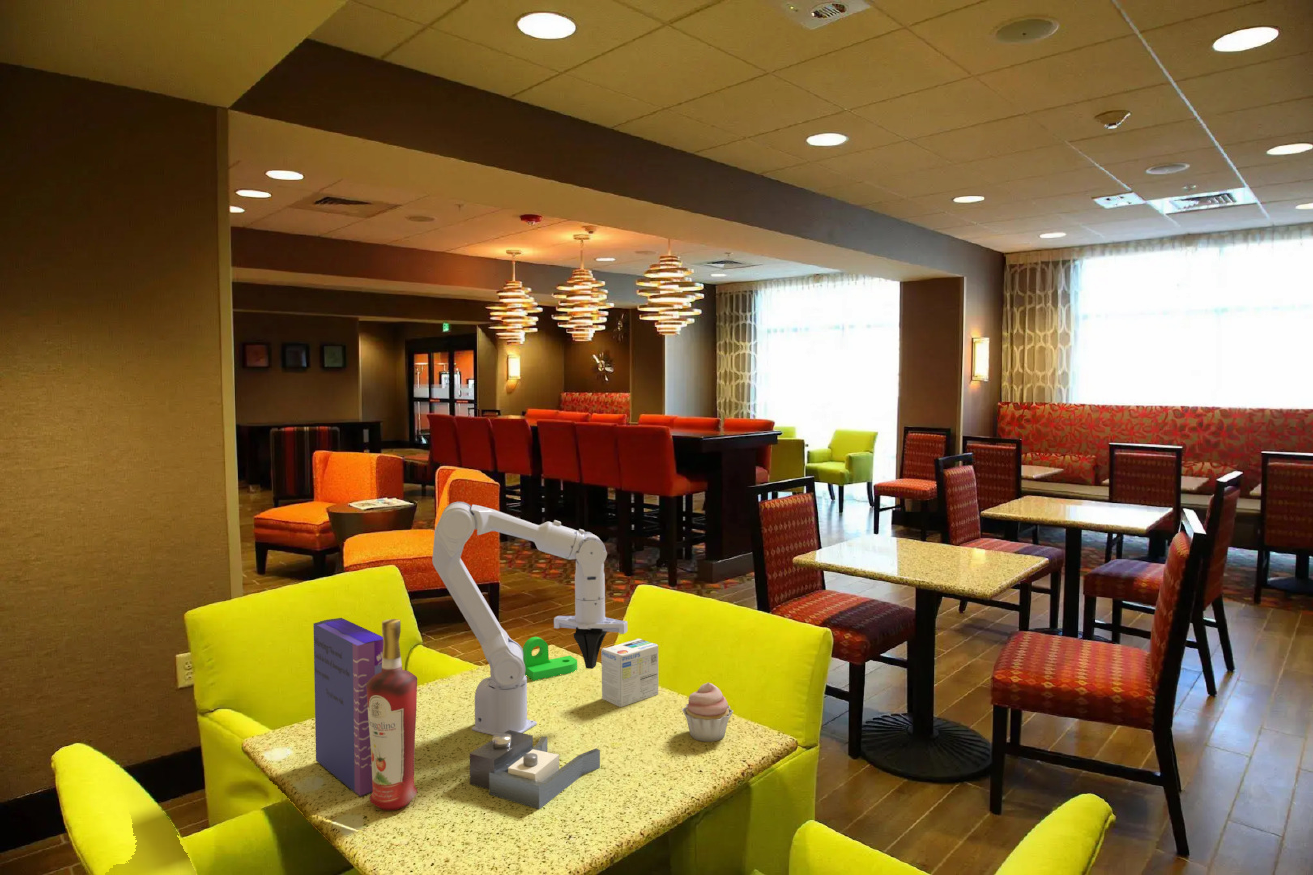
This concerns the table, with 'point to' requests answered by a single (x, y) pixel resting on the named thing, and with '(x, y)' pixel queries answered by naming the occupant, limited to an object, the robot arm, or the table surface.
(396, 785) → the liquor
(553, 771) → the block
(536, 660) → the mechanical part
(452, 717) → the table surface
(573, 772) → the motor bracket
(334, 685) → the cereal box
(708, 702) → the cupcake
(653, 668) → the light bulb box
